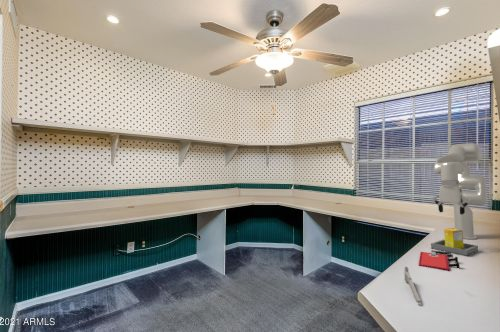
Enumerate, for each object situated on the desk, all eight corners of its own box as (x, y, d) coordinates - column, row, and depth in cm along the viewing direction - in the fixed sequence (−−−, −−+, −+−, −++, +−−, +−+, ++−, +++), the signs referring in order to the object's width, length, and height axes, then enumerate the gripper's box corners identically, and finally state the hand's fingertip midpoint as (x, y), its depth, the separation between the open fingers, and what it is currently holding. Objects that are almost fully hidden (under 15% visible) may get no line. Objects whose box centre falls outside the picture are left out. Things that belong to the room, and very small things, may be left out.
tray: (443, 244, 147) (443, 239, 147) (478, 251, 133) (477, 245, 133) (431, 248, 139) (430, 243, 139) (466, 256, 125) (466, 250, 125)
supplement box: (454, 247, 139) (453, 228, 140) (464, 250, 133) (463, 230, 134) (444, 247, 139) (443, 228, 139) (453, 250, 133) (452, 230, 133)
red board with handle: (455, 254, 128) (421, 250, 137) (455, 249, 128) (420, 245, 137) (460, 274, 104) (418, 267, 113) (460, 267, 104) (418, 261, 113)
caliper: (404, 281, 98) (403, 265, 98) (407, 281, 97) (406, 265, 97) (418, 306, 79) (417, 286, 79) (422, 306, 78) (421, 287, 79)
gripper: (471, 183, 133) (473, 214, 133) (435, 183, 148) (436, 210, 147) (466, 184, 129) (468, 215, 129) (429, 183, 144) (430, 212, 144)
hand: (451, 213), depth 138 cm, fingers open, 9 cm apart
